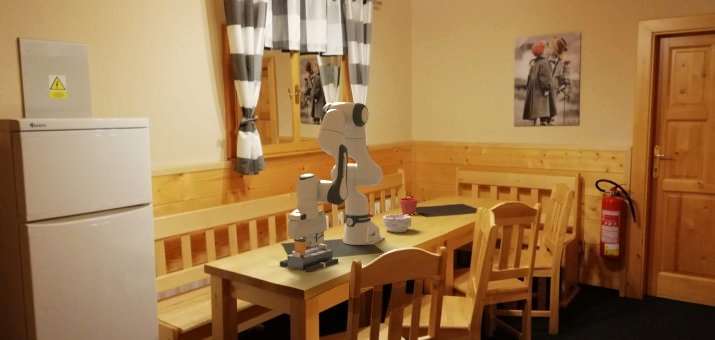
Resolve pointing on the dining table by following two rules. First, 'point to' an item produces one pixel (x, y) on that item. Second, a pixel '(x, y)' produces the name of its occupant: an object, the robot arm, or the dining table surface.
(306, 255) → the grey machine base
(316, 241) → the ink box
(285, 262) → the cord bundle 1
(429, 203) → the dining table surface
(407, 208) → the flower pot
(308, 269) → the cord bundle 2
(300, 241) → the orange upright block
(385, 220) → the paper bowls
